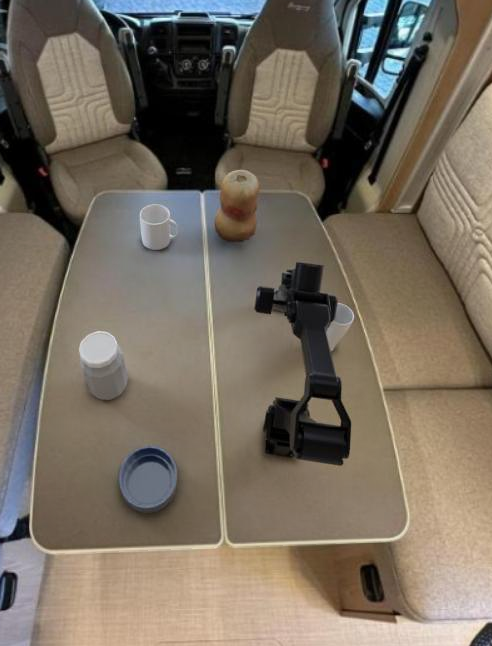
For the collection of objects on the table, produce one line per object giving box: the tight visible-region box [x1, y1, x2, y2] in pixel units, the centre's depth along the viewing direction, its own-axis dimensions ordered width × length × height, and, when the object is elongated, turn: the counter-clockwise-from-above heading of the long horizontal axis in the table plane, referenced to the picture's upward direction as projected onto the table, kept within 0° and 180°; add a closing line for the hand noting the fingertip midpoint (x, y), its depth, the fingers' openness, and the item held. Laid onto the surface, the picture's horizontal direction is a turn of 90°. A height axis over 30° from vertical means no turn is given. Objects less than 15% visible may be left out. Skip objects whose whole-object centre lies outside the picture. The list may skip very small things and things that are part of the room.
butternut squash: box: [213, 169, 260, 243], centre depth 130 cm, size 14×13×25 cm
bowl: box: [118, 445, 178, 514], centre depth 88 cm, size 12×12×6 cm
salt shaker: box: [273, 284, 287, 313], centre depth 117 cm, size 6×6×12 cm
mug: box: [139, 203, 180, 251], centre depth 133 cm, size 10×12×12 cm
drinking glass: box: [326, 302, 355, 352], centre depth 108 cm, size 7×7×15 cm
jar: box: [78, 331, 129, 401], centre depth 97 cm, size 10×10×18 cm
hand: (290, 299), depth 106 cm, fingers open, 9 cm apart
